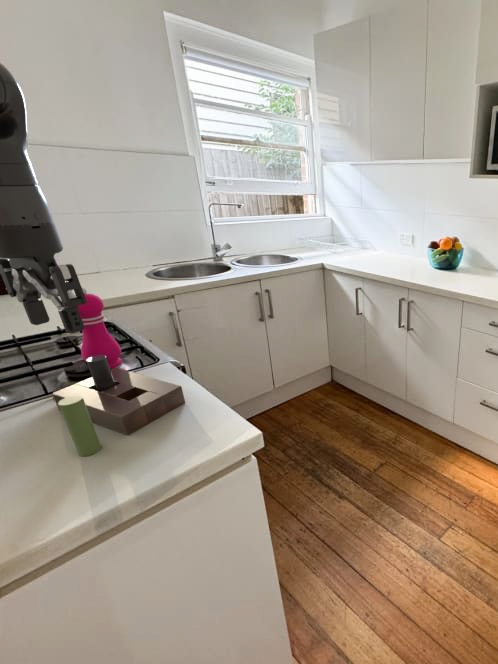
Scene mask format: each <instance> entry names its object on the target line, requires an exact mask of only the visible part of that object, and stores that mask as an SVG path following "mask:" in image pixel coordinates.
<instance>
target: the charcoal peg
mask: <svg viewBox="0 0 498 664" xmlns="http://www.w3.org/2000/svg"><path fill="white" fill-rule="evenodd" d="M86 361H87V362H86ZM86 361H85V362H86V364H87V367H88V370H89V372H90V376H91V377H92V378H93V381H94V384H95V386H96V389H97V391H99V392H103V391H105V390H107V389H109V388H111V387H114V386H115V383H114V380H113V376H112V373H111V370H110V367H109V364H108V361H107V358H106V356H104V355H98V356H93V357H90V358H88V359H87V360H86Z"/></svg>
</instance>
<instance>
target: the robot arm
mask: <svg viewBox="0 0 498 664" xmlns="http://www.w3.org/2000/svg"><path fill="white" fill-rule="evenodd" d="M27 121H28V120H27V107H26V101H25V96H24V93H23V91H22V88H21V87H20V85H19V83H18V81H17V80H16V78H15V76H14V75H13V73H12V72H11V71H10V70H9V69H8V68H7V67H6V66H5V65H3V63H1V62H0V276H1V278H2V280H3V283H4V285H5V289H6V291H7V294H8V295H9V296H10V297H11V298H16V300H17V301H18V302H19V303H21V304H22V306H23V308H24V310H25V313H26V316H27V318H28V321H29V323H30V324H31V325H34V326H40V325H43V324H47V323H49V322H50V320H51V319H50V317H49V313H48V312H47V309H46V306H45V303H44V302H43V299H41V298H42V297H43V298H44V299H46V300H50V301H51V303H52V304H53V305H54V306H55V308H56V309H57V313H58V314H59V318H60V321H61V323H62V326H63V328H64V330H65V333H67V334H70V335H71V334H75V333H78V332H79V333H80V332H82V330H84V328H85V327H84V324H83V321H82V318H81V315H80V313H79V310H78V306H80V305H82V304H86V303H87V300H86V298H85V295H84V292H83V290H82V287H83V286H82V285H81V281H80V280H79V277H78V274H77V271H76V269H75V267H74V265H73V264H72V263H67V264H59V263H58V262H57V260H56V258H55V255H56V254H59V253H61V252H62V251H63V250H64V247H63V243H62V241H61V238H60V235H59V233H58V229H57V227H56V223H55V221H54V218H53V214H52V212H51V209H50V206H49V203H48V201H47V199H46V196H45V195H44V193H43V191H42V189H41V186H40V185H39V181H38V178H37V176H36V172H35V169H34V167H33V164H32V161H31V159H30V157H29V154H28V153H29V152H28V141H29V140H28V138H29V137H28V122H27ZM75 295H76V297H75Z"/></svg>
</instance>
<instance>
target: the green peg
mask: <svg viewBox="0 0 498 664" xmlns="http://www.w3.org/2000/svg"><path fill="white" fill-rule="evenodd" d="M58 405H59V408H60V410H61V411H60V413H61V415H62V418H63V419H64V422H65V424H66V427H67V429H68V432H69V435H70V437H71V439H72V442H73V444H74V446H75V449H76V452H77V453H78V455H79V456H80V457H90V456H93V455H95V454H97V453H98V452H99V451H100V450H101V449H102V445H101V442H100V439H99V437H98V434H97V432H96V429H95V426H94V423H92V421H91V418H90V415H89V413H88V410H87V407H86V405H85V402H84V399H83V397H82V396H80V395H75V396H70V397H67V398H64V399H62V400H60V401H59V402H58Z"/></svg>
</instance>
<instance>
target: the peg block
mask: <svg viewBox="0 0 498 664" xmlns="http://www.w3.org/2000/svg"><path fill="white" fill-rule="evenodd" d="M110 370H111V373H112V376H113V380H114V383H115V386H114V387H111V388H109V389H107V390H105V391H103V392H99V391H97V389H96V386H95V384H94V381H93V378H92V376H91V377H89V378H86V379H84V380H81V381H79V382H76V383H73V384H72V385H69V386H66V387H64V388H62V389H59V390H57V391H54V392H52V393H51V395H52V397H53V400H54V402H55V404H56V407H57V409H58V411H59V412H61V410H60V408H59V405H58V402H59V401H60V400H62V399H64V398H67V397H70V396H75V395H80V396H82V397H83V399H84V402H85V405H86V407H87V410H88V413H89V415H90V418H91V421H92V423H93V425H94V424H95V425H97V426H100V427H103V428H106V429H108V430H111V431H114V432H117V433H119V434H122V435H125V436H130V435H131V434H133V433H135V432H137V431H138V430H140V429H142V428H144V427H146V426H147V425H149V424H151V423H153V422H155V421H156V420H158V419H160V418H161V417H164V416H165V415H166V414H168V413H170V412H172V411H173V410H175V409H176V408H179V407H180V406H182V405H184V404H185V403H186V400H185V396H184V392H183V388H182V385H179V384H175V383H173V382H168V381H166V380H161V379H158V378H154V377H151V376H147V375H143V374H140V373H137V372H133V371H130V370H126V369H122V368H119V367H114V368H111V369H110Z"/></svg>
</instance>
